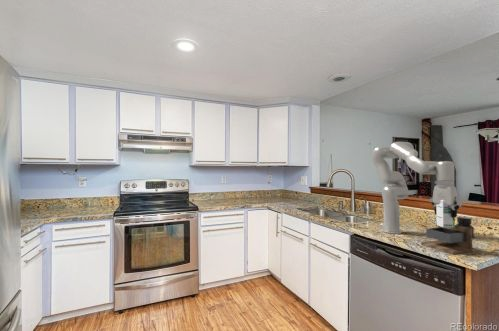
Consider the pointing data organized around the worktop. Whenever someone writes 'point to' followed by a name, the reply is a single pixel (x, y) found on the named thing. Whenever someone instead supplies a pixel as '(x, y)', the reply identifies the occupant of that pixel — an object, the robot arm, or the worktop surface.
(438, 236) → the open storage bin
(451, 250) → the bracket board
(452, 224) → the syrup box
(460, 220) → the ink bottle
